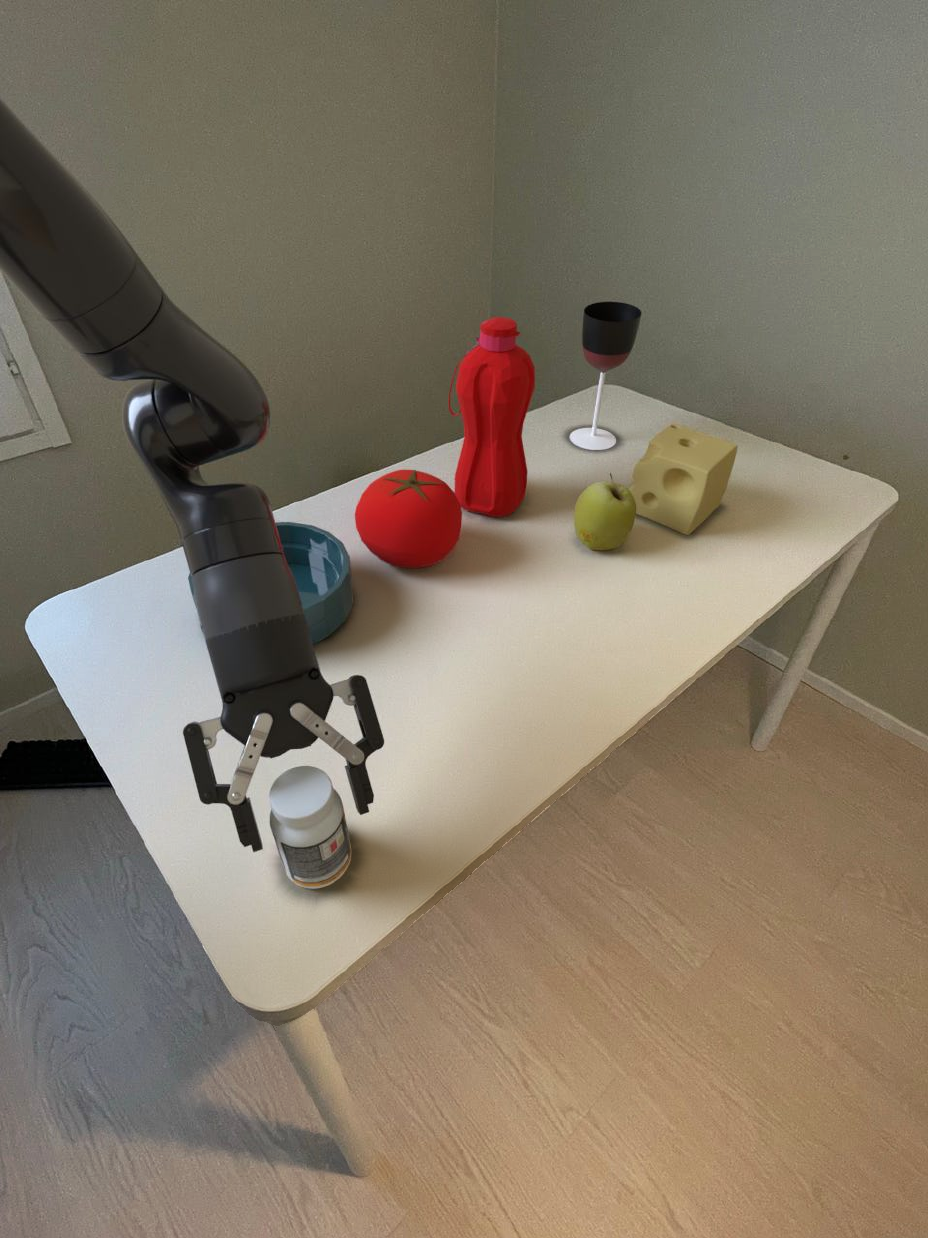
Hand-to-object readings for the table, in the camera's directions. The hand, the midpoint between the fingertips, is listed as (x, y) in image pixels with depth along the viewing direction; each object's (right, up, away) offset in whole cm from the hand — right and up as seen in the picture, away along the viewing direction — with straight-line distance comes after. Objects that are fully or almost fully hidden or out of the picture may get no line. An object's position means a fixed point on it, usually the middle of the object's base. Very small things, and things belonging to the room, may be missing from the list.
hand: (312, 829), depth 54 cm
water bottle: (+14, +33, +47) cm, 59 cm away
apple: (+30, +26, +40) cm, 56 cm away
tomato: (+5, +24, +37) cm, 45 cm away
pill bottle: (-1, -4, +6) cm, 7 cm away
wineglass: (+33, +45, +61) cm, 83 cm away
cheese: (+41, +32, +46) cm, 69 cm away
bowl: (-10, +17, +29) cm, 35 cm away
